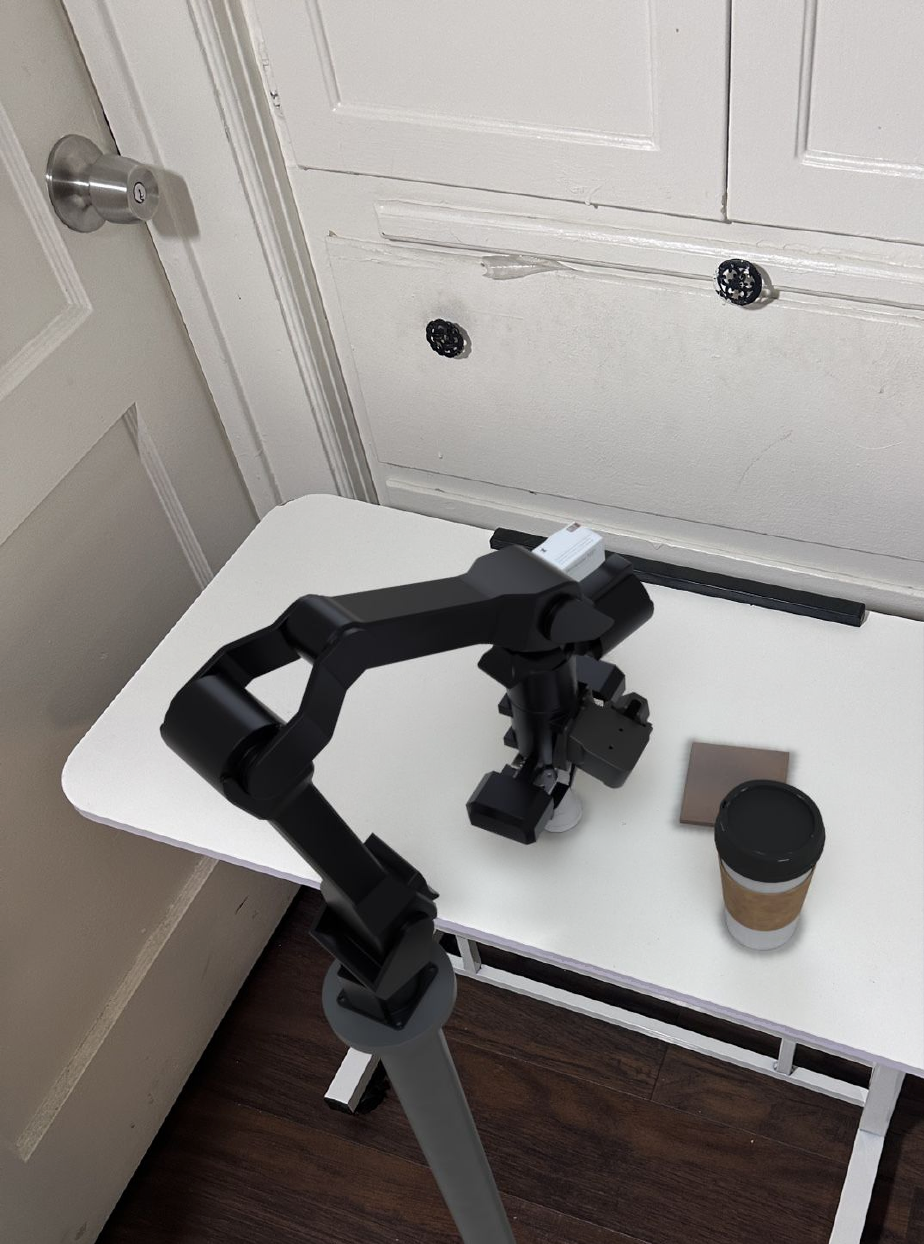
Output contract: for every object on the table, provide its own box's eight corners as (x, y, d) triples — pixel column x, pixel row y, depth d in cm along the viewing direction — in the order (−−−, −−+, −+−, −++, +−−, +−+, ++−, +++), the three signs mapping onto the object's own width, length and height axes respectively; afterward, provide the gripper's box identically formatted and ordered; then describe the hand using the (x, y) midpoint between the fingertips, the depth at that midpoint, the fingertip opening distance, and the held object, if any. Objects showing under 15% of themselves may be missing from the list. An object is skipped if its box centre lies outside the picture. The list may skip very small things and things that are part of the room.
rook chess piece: (542, 791, 113) (534, 736, 106) (588, 800, 112) (583, 745, 105) (527, 829, 110) (518, 775, 104) (574, 839, 109) (569, 786, 103)
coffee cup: (726, 866, 107) (732, 760, 95) (822, 892, 105) (839, 787, 93) (698, 947, 102) (700, 846, 90) (797, 976, 100) (812, 876, 88)
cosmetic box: (572, 662, 122) (562, 572, 113) (539, 641, 124) (527, 551, 115) (613, 627, 125) (607, 537, 116) (581, 608, 127) (572, 517, 118)
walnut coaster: (780, 834, 109) (780, 830, 108) (679, 823, 110) (679, 819, 109) (789, 755, 114) (789, 751, 114) (692, 745, 115) (693, 741, 115)
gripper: (583, 806, 90) (594, 916, 102) (681, 635, 100) (680, 753, 112) (450, 760, 93) (476, 872, 105) (558, 598, 103) (570, 717, 115)
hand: (556, 802), depth 109 cm, fingers closed on rook chess piece, 3 cm apart
